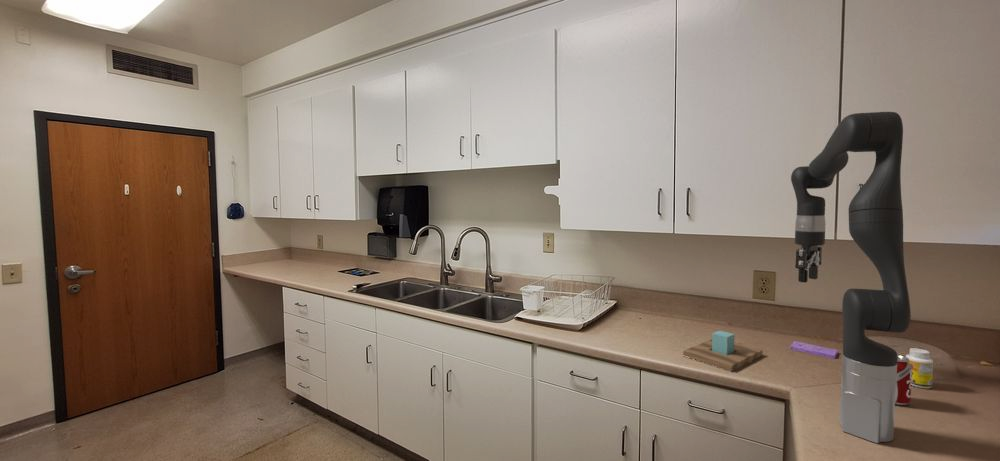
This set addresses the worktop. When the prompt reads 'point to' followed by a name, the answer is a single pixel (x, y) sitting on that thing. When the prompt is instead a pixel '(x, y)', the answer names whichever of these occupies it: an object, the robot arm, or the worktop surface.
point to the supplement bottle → (921, 368)
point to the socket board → (723, 355)
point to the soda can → (903, 381)
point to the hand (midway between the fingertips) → (808, 280)
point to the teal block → (723, 342)
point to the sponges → (814, 349)
